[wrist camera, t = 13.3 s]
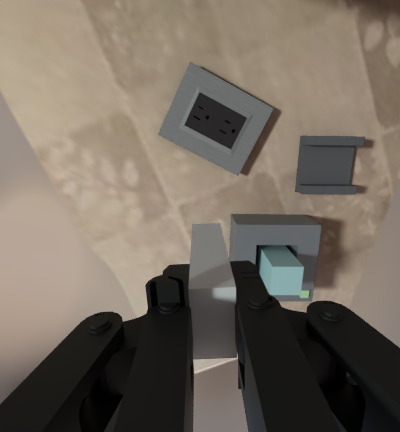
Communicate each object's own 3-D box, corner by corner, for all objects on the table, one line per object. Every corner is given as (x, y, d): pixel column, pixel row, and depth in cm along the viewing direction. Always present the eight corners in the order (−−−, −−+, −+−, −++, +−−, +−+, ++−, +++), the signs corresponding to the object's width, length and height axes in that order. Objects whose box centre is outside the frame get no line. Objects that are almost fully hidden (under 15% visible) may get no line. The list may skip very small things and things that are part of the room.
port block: (231, 214, 44) (236, 225, 38) (305, 214, 45) (322, 226, 38) (228, 282, 47) (233, 302, 41) (297, 282, 48) (313, 302, 41)
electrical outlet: (270, 110, 41) (274, 108, 39) (236, 174, 43) (238, 175, 41) (190, 66, 39) (190, 61, 37) (159, 135, 42) (157, 134, 39)
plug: (255, 239, 44) (272, 266, 35) (280, 240, 45) (304, 266, 35) (253, 263, 45) (269, 295, 36) (278, 263, 46) (300, 295, 36)
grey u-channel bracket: (300, 136, 41) (308, 135, 39) (353, 136, 42) (365, 136, 39) (295, 191, 44) (302, 194, 41) (345, 191, 44) (355, 195, 41)
